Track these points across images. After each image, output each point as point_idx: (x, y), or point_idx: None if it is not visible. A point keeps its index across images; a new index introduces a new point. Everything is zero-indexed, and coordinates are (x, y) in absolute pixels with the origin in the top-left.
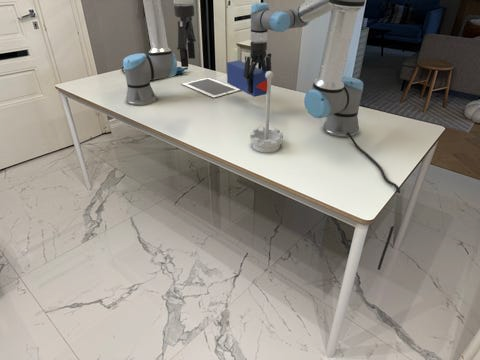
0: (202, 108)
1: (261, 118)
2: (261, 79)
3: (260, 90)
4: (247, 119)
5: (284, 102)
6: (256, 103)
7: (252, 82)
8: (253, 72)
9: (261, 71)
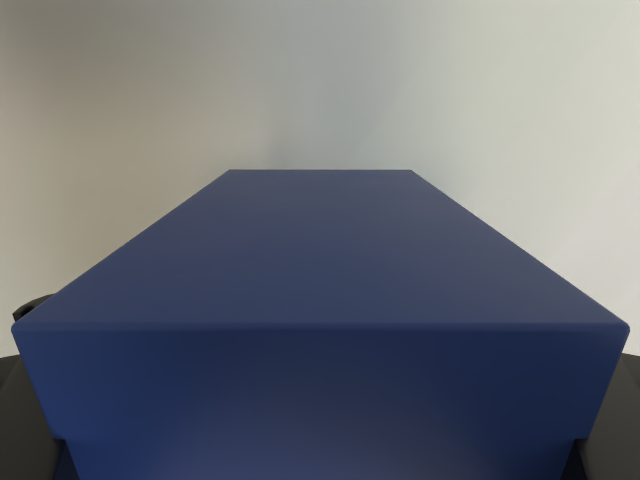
0: None
1: (402, 7)
2: (315, 237)
3: (326, 183)
4: (506, 61)
5: (43, 197)
6: None
7: None
8: (582, 471)
9: (200, 467)
